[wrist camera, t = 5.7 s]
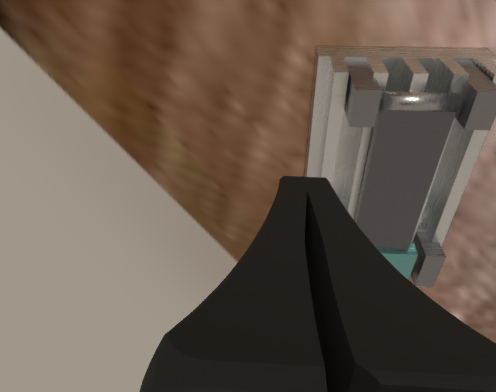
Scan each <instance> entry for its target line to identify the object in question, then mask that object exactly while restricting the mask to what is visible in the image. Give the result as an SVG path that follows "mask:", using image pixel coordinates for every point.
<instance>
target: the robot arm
mask: <svg viewBox="0 0 496 392" xmlns="http://www.w3.org/2000/svg"><path fill="white" fill-rule="evenodd" d="M140 392H496V344H495V343H494V342H492V341H491V340H489V339H488V338H486V337H484V336H483V335H481V334H480V333H478V332H477V331H475V330H473V329H472V328H470V327H469V326H467V325H466V324H464V323H463V322H461V321H460V320H459V319H457V318H456V317H455V316H453V315H452V314H450V313H449V312H448V311H446V310H445V309H443V308H442V307H441V306H439V305H438V304H437V303H436V302H434V301H433V300H432V299H430V298H429V297H428V296H427V295H426V294H424V293H423V292H422V291H421V290H420V289H418V288H417V287H416V286H415V285H414V284H412V283H411V282H410V281H409V280H408V279H407V278H405V277H404V276H403V275H402V274H401V273H400V272H399V271H398V270H397V269H396V268H395V267H394V266H393V265H392V264H391V263H390V262H389V261H388V260H387V259H386V258H385V257H384V256H383V255H382V254H381V253H380V252H379V250H378V249H377V248H376V247H375V246H374V245H373V244H372V242H371V241H370V240H369V239H368V238H367V236H366V235H365V234H364V233H363V231H362V230H361V229H360V228H359V226H358V225H357V224H356V222H355V221H354V219H353V218H352V217H351V215H350V214H349V213H348V211H347V210H346V208H345V207H344V205H343V204H342V202H341V201H340V199H339V197H338V196H337V194H336V193H335V191H334V189H333V187H332V186H331V184H330V182H329V181H328V179H327V178H324V177H292V176H283V177H282V178H281V179H280V183H279V188H278V192H277V195H276V197H275V200H274V203H273V205H272V207H271V209H270V211H269V213H268V216H267V218H266V220H265V222H264V223H263V225H262V227H261V229H260V230H259V232H258V234H257V235H256V237H255V239H254V240H253V242H252V244H251V245H250V247H249V248H248V250H247V251H246V252H245V254H244V255H243V257H242V258H241V259H240V261H239V262H238V263H237V265H236V266H235V267H234V268H233V269H232V271H231V272H230V273H229V274H228V276H227V277H226V278H225V279H224V280H223V281H222V282H221V284H220V285H219V286H218V287H217V288H216V289H215V290H214V291H213V292H212V293H211V294H210V295H209V296H208V297H207V298H206V299H205V300H204V301H203V302H202V303H201V304H200V305H199V306H198V307H197V308H196V309H195V310H193V312H191V313H190V314H189V315H188V316H187V317H185V318H184V319H183V320H182V321H181V322H179V323H178V324H177V325H176V326H175V327H174V328H172V329H171V330H170V331H169V332H167V333H166V334H165V335H164V337H163V339H162V340H161V342H160V344H159V346H158V348H157V350H156V351H155V354H154V356H153V358H152V360H151V362H150V364H149V366H148V369H147V371H146V374H145V376H144V379H143V382H142V385H141V389H140Z"/></svg>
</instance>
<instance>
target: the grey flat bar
mask: <svg viewBox="0 0 496 392" xmlns="http://www.w3.org/2000/svg"><path fill="white" fill-rule="evenodd" d="M460 101H461V98H460V94H459V93H447V92H395V91H382V92H381V96H380V101H379V106H378V111H377V116H376V121H375V125H374V129H373V134H372V138H371V143H370V148H369V152H368V157H367V162H366V167H365V171H364V176H363V181H362V185H361V190H360V195H359V199H358V204H357V209H356V213H355V218H354V221H355V222H356V224H357V225H358V226H359V228H360V229H361V230H362V231H363V233H364V234H365V235H366V236H367V238H368V239H369V240H370V241H371V242H372V244H373V245H374V246H375V247H376V248H377V249H378V250H379V252H380V253H381V254H382V255H383V256H384V257H385V258H386V259H387V260H388V261H389V262H390V263H391V264H392V265H393V266H394V267H395V268H396V269H397V270H398V271H399V272H400V273H401V274H402V275H403V276H404V277H405V278H407V279H409V277H410V275H411V272H412V269H413V267H414V264H415V261H416V259H417V256H418V254H417V251H416V248H415V245H414V244H410V243H411V240H412V237H413V234H414V232H415V229H416V226H417V223H418V220H419V217H420V214H421V212H422V209H423V206H424V203H425V200H426V197H427V194H428V192H429V189H430V186H431V183H432V180H433V177H434V174H435V172H436V169H437V166H438V163H439V160H440V157H441V154H442V152H443V149H444V146H445V143H446V140H447V137H448V134H449V132H450V129H451V126H452V123H453V120H454V117H455V114H456V112H457V111H458V109H459V106H460Z"/></svg>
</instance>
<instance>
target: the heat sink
mask: <svg viewBox="0 0 496 392" xmlns="http://www.w3.org/2000/svg"><path fill="white" fill-rule="evenodd" d="M382 91H395V92H447V93H459V94H460V98H461V101H460V106H459V109H458V111H457V112H456V114H455V117H454V120H453V123H452V126H451V129H450V132H449V134H448V137H447V140H446V143H445V146H444V149H443V152H442V154H441V157H440V160H439V163H438V166H437V169H436V172H435V174H434V177H433V180H432V183H431V186H430V189H429V192H428V194H427V197H426V200H425V203H424V206H423V209H422V212H421V214H420V217H419V220H418V223H417V226H416V229H415V232H414V234H413V237H412V240H411V243H410V244H414V245H415V248H416V251H417V254H418V256H417V259H416V261H415V264H414V267H413V269H412V272H411V276H412V279H413V282H414V285H415V286H418V287H433V286H434V284H435V281H436V279H437V277H438V274H439V272H440V270H441V267H442V265H443V262H444V260H445V258H446V256H445V254H444V252H443V250H442V247H441V246H442V244H443V241H444V239H445V236H446V234H447V231H448V229H449V226H450V224H451V221H452V219H453V216H454V214H455V211H456V209H457V206H458V204H459V201H460V199H461V197H462V194H463V192H464V189H465V187H466V184H467V182H468V179H469V177H470V174H471V172H472V169H473V167H474V164H475V162H476V159H477V157H478V154H479V152H480V149H481V147H482V145H483V142H484V140H485V137H486V135H487V132H488V130H490V128H491V126H492V123H493V121H494V118H495V116H496V54H494V53H493V52H492V51H491V50H489V49H488V48H430V47H351V46H316V55H315V65H314V76H313V87H312V97H311V108H310V118H309V129H308V139H307V150H306V160H305V171H304V177H324V178H327V179H328V181H329V182H330V184H331V186H332V187H333V189H334V191H335V193H336V194H337V196H338V197H339V199H340V201H341V202H342V204H343V205H344V207H345V208H346V210H347V211H348V213H349V214H350V215H351V217H352V218H353V219H354V218H355V213H356V209H357V204H358V199H359V195H360V190H361V185H362V181H363V176H364V171H365V167H366V162H367V157H368V152H369V148H370V143H371V138H372V134H373V129H374V125H375V121H376V116H377V111H378V106H379V101H380V96H381V92H382Z"/></svg>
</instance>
